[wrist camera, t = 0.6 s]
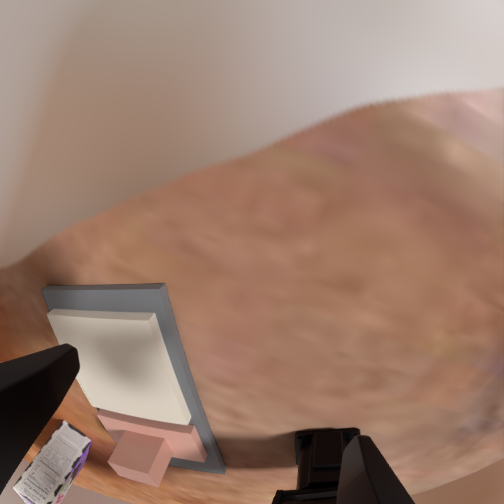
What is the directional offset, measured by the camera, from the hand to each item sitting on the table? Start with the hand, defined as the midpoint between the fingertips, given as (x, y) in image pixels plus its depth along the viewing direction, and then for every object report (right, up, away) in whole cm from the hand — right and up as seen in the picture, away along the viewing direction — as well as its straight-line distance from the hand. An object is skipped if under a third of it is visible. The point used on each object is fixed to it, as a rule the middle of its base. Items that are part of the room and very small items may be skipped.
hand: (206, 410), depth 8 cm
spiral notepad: (-11, -7, +17) cm, 22 cm away
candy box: (-29, -28, +29) cm, 50 cm away
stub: (-10, -16, +20) cm, 28 cm away
